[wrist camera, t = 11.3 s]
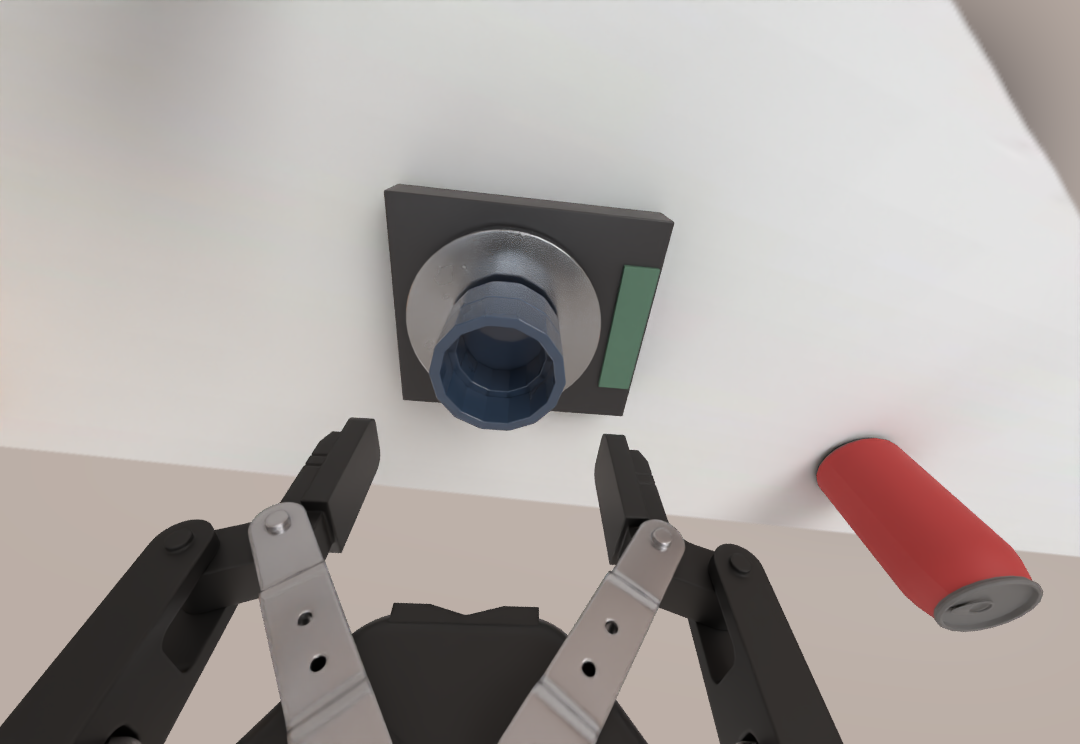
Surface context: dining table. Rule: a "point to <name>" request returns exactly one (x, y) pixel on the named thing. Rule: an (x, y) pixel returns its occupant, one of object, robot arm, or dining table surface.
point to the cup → (499, 357)
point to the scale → (583, 230)
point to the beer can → (927, 538)
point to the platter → (506, 261)
